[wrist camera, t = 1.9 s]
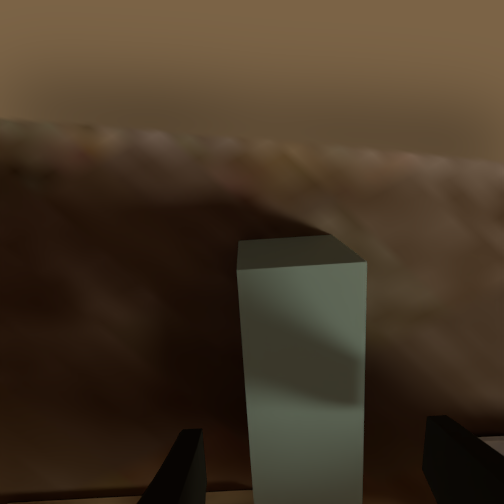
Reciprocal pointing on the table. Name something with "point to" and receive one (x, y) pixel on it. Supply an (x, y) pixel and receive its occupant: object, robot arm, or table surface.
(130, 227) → the table surface
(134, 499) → the beige shallow rectangular tray
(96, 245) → the table surface
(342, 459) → the tall sage green box
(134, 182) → the table surface
